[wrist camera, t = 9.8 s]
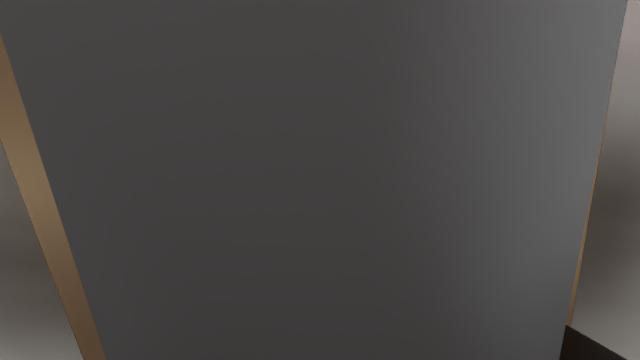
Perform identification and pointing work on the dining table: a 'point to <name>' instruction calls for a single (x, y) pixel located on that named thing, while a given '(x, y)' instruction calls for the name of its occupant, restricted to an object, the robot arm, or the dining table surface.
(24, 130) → the oak board
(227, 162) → the block
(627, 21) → the dining table surface
